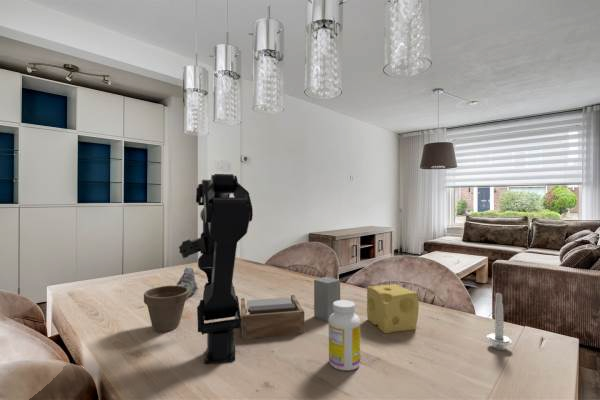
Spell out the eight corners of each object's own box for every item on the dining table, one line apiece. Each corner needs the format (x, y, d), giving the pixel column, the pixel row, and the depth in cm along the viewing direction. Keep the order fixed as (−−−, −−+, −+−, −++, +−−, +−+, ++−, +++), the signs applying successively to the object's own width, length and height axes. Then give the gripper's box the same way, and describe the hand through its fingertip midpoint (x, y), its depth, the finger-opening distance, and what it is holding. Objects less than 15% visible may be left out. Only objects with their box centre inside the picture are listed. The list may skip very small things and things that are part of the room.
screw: (514, 348, 72) (506, 354, 70) (492, 341, 76) (483, 346, 73) (514, 293, 72) (506, 296, 70) (492, 288, 76) (483, 291, 73)
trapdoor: (296, 317, 83) (296, 307, 83) (248, 321, 80) (248, 310, 80) (289, 303, 94) (289, 294, 94) (246, 306, 91) (246, 297, 91)
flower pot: (198, 324, 87) (198, 288, 87) (161, 340, 77) (161, 299, 77) (171, 316, 93) (171, 282, 93) (134, 330, 83) (134, 292, 83)
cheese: (384, 334, 80) (384, 296, 80) (365, 319, 91) (365, 284, 91) (419, 330, 83) (419, 292, 83) (396, 315, 93) (396, 282, 93)
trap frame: (304, 332, 81) (304, 311, 81) (242, 338, 78) (242, 316, 78) (293, 313, 95) (293, 294, 95) (241, 317, 92) (241, 298, 92)
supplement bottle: (356, 355, 69) (356, 298, 69) (363, 371, 63) (363, 308, 63) (326, 355, 69) (326, 298, 69) (330, 372, 63) (330, 309, 63)
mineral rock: (182, 302, 106) (181, 273, 105) (159, 298, 110) (159, 270, 110) (207, 292, 117) (207, 265, 117) (186, 288, 122) (186, 263, 122)
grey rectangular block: (327, 321, 89) (327, 283, 88) (314, 316, 93) (314, 279, 93) (340, 316, 92) (340, 279, 92) (326, 311, 96) (326, 276, 96)
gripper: (187, 225, 88) (187, 280, 88) (174, 232, 70) (174, 301, 70) (227, 224, 90) (227, 278, 90) (225, 231, 72) (225, 298, 72)
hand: (214, 287), depth 81 cm, fingers open, 9 cm apart
